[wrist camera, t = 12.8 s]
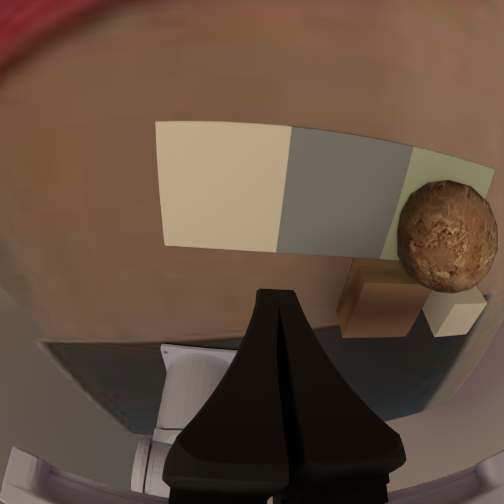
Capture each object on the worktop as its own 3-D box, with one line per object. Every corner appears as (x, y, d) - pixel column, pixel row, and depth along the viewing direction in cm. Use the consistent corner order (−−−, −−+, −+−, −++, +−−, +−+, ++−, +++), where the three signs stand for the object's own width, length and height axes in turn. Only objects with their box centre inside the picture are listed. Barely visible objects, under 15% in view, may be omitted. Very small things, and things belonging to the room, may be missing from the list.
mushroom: (517, 227, 16) (521, 279, 13) (445, 273, 23) (429, 324, 19) (454, 143, 17) (447, 172, 13) (387, 204, 24) (360, 244, 20)
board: (455, 262, 23) (456, 264, 23) (165, 243, 22) (164, 245, 22) (493, 168, 17) (495, 169, 17) (156, 121, 17) (155, 121, 17)
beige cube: (420, 304, 26) (451, 303, 26) (434, 336, 23) (466, 333, 23) (436, 271, 24) (468, 273, 24) (455, 304, 20) (487, 303, 20)
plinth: (396, 311, 26) (405, 336, 24) (336, 310, 26) (342, 337, 24) (420, 260, 23) (434, 284, 20) (354, 255, 23) (365, 282, 20)
